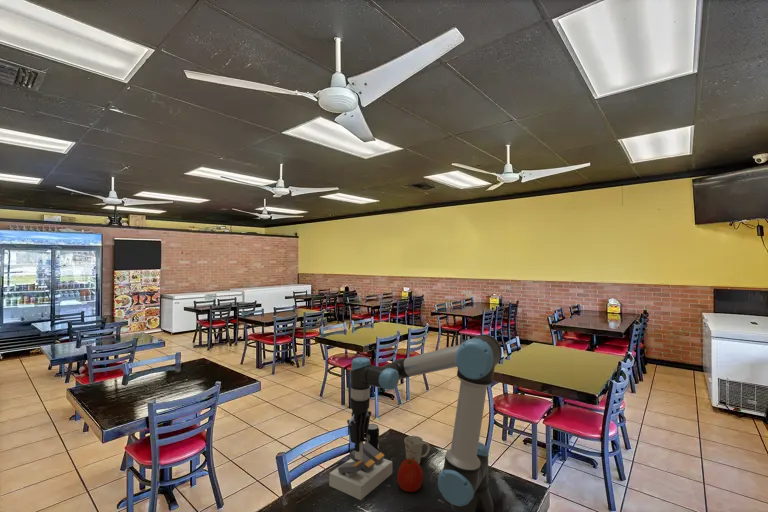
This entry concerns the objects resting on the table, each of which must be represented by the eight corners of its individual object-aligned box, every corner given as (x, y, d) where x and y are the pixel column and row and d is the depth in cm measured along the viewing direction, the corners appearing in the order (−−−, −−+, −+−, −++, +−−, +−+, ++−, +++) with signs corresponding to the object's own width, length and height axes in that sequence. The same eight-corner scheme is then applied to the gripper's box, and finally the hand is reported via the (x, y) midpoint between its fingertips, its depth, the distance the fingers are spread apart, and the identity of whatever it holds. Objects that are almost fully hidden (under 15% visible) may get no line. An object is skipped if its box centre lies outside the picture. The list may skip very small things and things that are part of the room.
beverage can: (377, 456, 169) (377, 429, 169) (363, 454, 170) (363, 428, 171) (380, 449, 175) (380, 424, 176) (367, 447, 177) (367, 422, 177)
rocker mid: (373, 467, 150) (375, 462, 149) (367, 472, 146) (368, 467, 145) (355, 452, 155) (357, 447, 155) (349, 456, 151) (350, 451, 151)
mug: (401, 459, 166) (401, 437, 166) (424, 454, 171) (424, 432, 171) (409, 468, 158) (410, 445, 159) (434, 462, 164) (434, 440, 164)
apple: (424, 482, 149) (424, 455, 149) (420, 497, 139) (420, 469, 139) (400, 477, 151) (400, 452, 152) (394, 492, 141) (394, 464, 142)
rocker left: (364, 466, 144) (363, 460, 144) (357, 471, 140) (356, 465, 140) (346, 467, 149) (345, 462, 149) (339, 473, 145) (337, 466, 145)
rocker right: (383, 459, 155) (384, 455, 155) (377, 464, 152) (378, 459, 151) (365, 445, 161) (367, 441, 160) (359, 449, 157) (360, 445, 157)
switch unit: (392, 473, 154) (392, 457, 155) (360, 500, 136) (360, 482, 137) (362, 462, 163) (362, 447, 164) (329, 485, 145) (329, 468, 146)
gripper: (362, 391, 151) (361, 449, 150) (342, 400, 140) (340, 462, 139) (377, 395, 147) (376, 454, 146) (357, 404, 136) (355, 468, 135)
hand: (358, 458), depth 143 cm, fingers closed
